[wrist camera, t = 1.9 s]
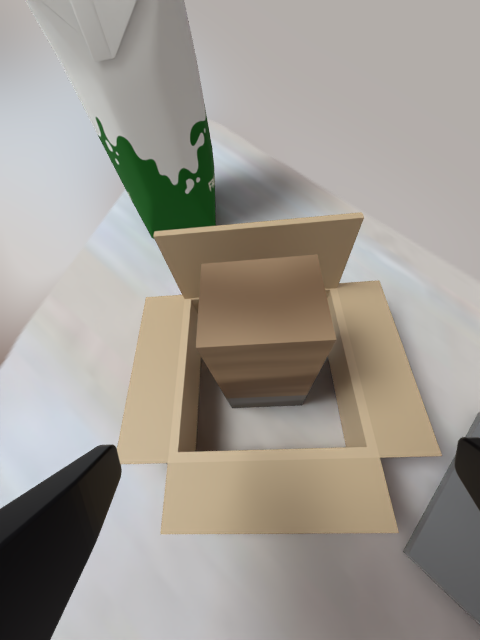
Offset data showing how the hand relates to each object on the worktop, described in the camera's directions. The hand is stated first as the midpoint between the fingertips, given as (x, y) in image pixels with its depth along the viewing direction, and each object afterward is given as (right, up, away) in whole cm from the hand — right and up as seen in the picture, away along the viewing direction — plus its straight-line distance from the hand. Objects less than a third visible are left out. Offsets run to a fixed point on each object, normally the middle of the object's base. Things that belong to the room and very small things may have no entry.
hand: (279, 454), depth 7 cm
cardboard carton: (+1, -2, +12) cm, 12 cm away
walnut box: (+1, -1, +13) cm, 13 cm away
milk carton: (-8, +16, +23) cm, 29 cm away
